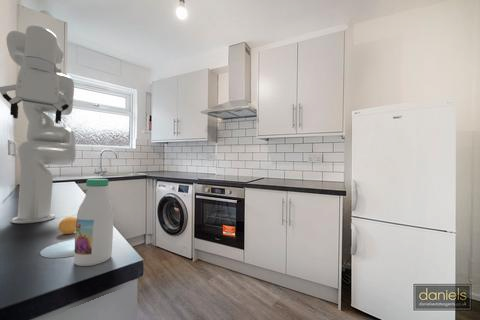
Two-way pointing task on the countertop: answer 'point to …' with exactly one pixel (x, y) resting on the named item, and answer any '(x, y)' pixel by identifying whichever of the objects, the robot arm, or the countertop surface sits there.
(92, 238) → the milk bottle
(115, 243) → the countertop surface
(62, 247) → the disc
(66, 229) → the ball
